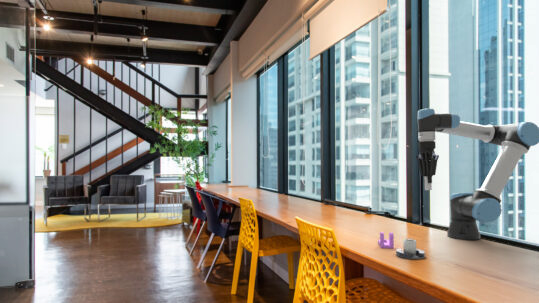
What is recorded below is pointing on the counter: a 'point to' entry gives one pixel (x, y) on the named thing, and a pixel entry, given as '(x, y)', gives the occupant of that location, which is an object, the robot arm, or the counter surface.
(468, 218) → the robot arm
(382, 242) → the bracket
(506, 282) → the counter surface
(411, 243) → the grey cylinder
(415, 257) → the barrel ring
